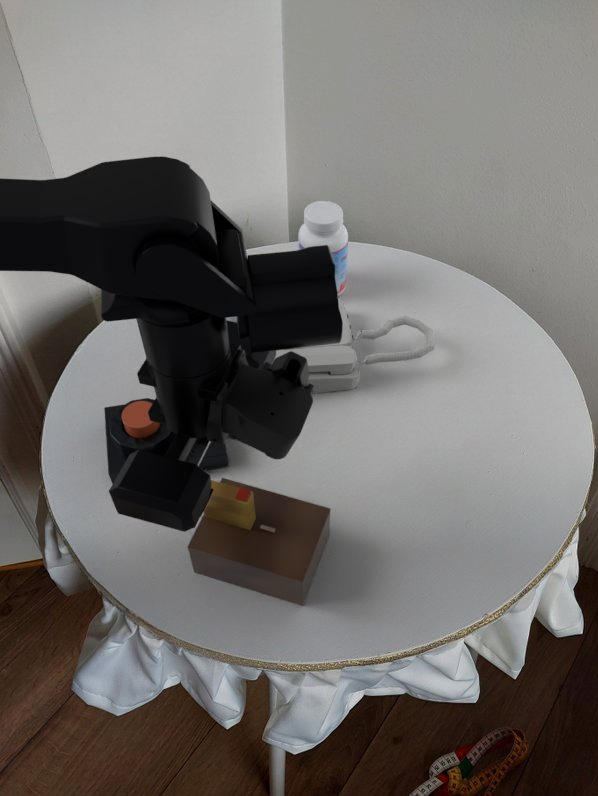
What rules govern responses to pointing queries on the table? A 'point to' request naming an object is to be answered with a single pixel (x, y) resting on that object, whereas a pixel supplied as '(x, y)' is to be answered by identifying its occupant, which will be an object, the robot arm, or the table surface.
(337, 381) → the intercom
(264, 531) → the brown box with slot
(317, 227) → the pill bottle
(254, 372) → the robot arm
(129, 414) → the arm button
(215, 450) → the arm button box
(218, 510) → the block
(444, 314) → the table surface
